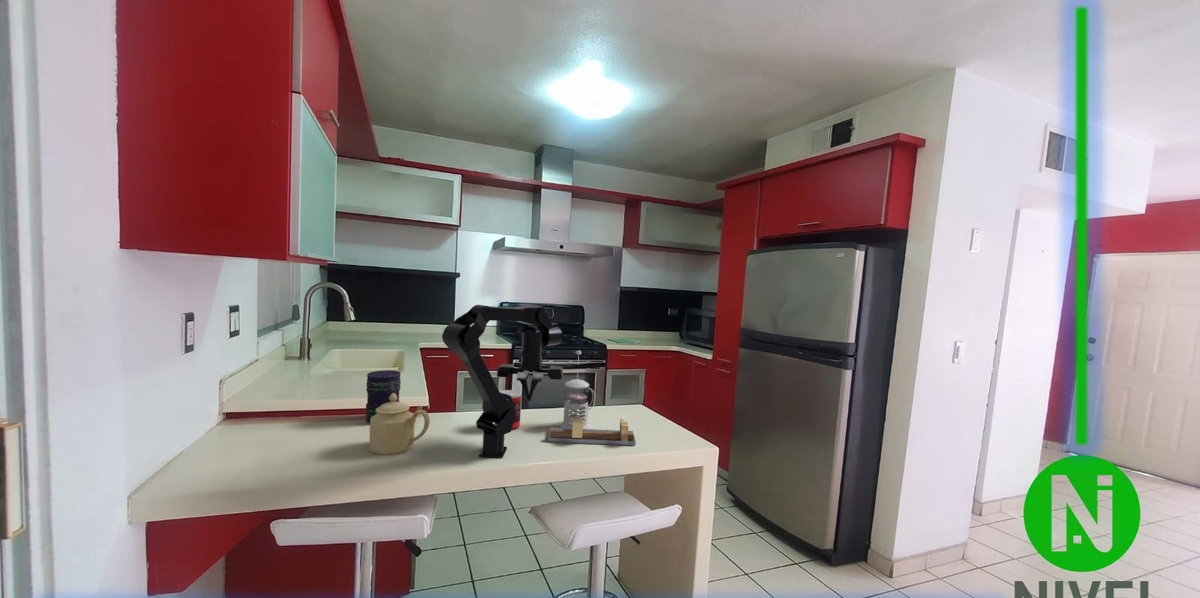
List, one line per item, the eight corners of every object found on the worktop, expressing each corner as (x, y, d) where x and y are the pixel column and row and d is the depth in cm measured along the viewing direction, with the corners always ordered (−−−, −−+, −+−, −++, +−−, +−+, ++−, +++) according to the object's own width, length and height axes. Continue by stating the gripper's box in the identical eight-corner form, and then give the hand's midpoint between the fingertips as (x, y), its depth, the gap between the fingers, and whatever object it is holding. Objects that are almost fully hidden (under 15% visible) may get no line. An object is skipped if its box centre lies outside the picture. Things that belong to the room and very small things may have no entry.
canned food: (492, 424, 143) (493, 390, 143) (516, 422, 147) (517, 389, 146) (497, 432, 136) (498, 397, 136) (522, 429, 140) (524, 395, 139)
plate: (635, 445, 131) (635, 441, 131) (547, 442, 130) (547, 437, 130) (632, 434, 140) (632, 430, 140) (550, 431, 139) (550, 427, 139)
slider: (582, 438, 131) (582, 423, 130) (572, 438, 131) (572, 422, 130) (582, 430, 138) (583, 415, 137) (572, 430, 137) (573, 415, 137)
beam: (634, 441, 131) (634, 426, 131) (549, 438, 130) (550, 422, 130) (631, 433, 138) (632, 418, 138) (551, 430, 137) (552, 415, 137)
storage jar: (359, 424, 137) (360, 376, 136) (373, 414, 147) (374, 369, 146) (392, 424, 138) (394, 377, 137) (404, 415, 148) (405, 370, 147)
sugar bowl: (428, 437, 130) (430, 386, 129) (428, 451, 119) (430, 396, 119) (372, 441, 124) (373, 388, 124) (366, 456, 114) (368, 399, 113)
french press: (555, 422, 148) (559, 348, 147) (586, 418, 154) (590, 347, 153) (567, 431, 140) (571, 353, 139) (599, 427, 145) (603, 352, 144)
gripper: (565, 345, 138) (562, 394, 139) (504, 342, 137) (502, 392, 138) (563, 351, 127) (560, 404, 127) (497, 348, 126) (495, 402, 127)
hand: (529, 400), depth 130 cm, fingers closed
